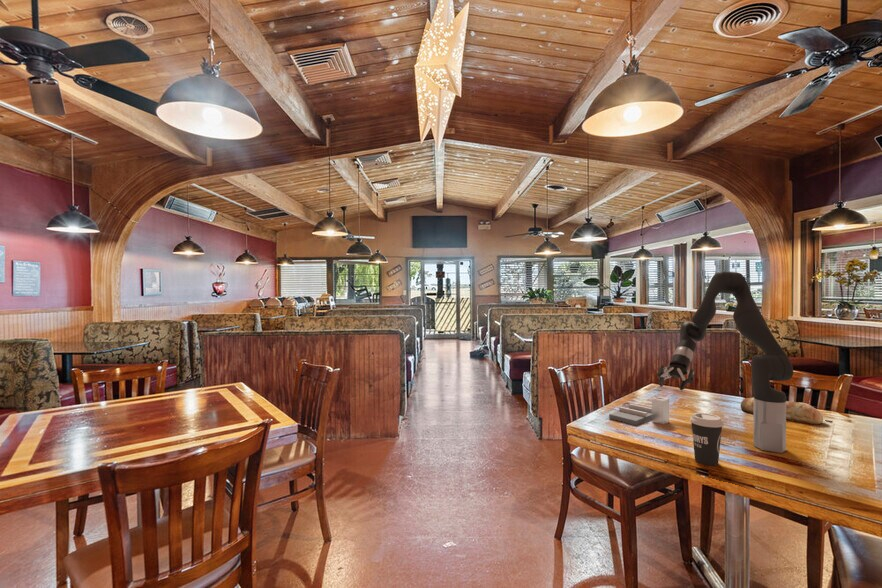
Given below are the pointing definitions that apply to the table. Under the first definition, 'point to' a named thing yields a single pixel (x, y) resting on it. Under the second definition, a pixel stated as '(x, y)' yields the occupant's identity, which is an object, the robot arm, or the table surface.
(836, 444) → the table surface
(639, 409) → the plate
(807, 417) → the bread loaf
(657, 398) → the block
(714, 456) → the coffee cup
